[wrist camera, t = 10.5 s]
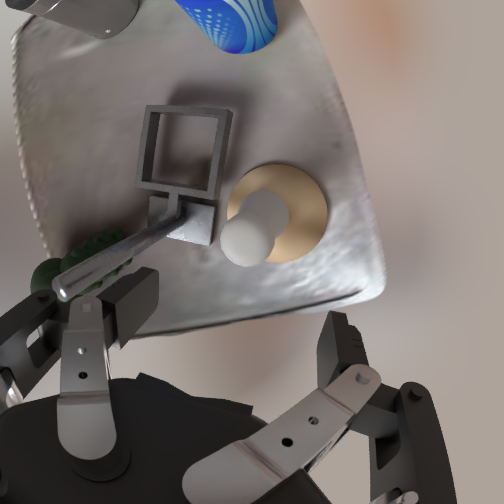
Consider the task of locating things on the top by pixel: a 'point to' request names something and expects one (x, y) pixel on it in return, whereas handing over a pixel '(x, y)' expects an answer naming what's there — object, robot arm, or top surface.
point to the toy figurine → (77, 262)
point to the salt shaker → (254, 228)
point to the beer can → (234, 22)
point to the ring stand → (159, 204)
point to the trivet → (297, 201)
